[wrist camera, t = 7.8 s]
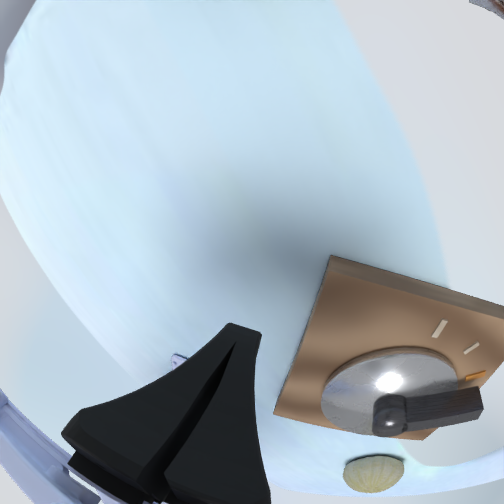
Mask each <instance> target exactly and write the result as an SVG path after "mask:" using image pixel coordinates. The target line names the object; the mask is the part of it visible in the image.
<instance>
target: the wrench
mask: <svg viewBox="0 0 504 504" xmlns="http://www.w3.org/2000/svg"><path fill="white" fill-rule="evenodd" d="M469 3H472V4H475V5H478V6H480V7H483V8H485V9H487V10H489V11H492V12H494V13H495V14H497V15H498V16H500V17H501V18H503V19H504V0H469Z"/></svg>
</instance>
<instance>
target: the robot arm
mask: <svg viewBox="0 0 504 504" xmlns="http://www.w3.org/2000/svg"><path fill="white" fill-rule="evenodd" d="M261 336H262V334H261V333H260V332H258V331H255V330H252V329H249V328H245V327H242V326H239V325H236V324H233V323H228V324H226V326H225V327H224V328H223V329H222V330H221V331H220V332H219V333H218V334H217V335H216V336H215V337H214V338H213V339H212V340H210V341H209V342H208V343H207V344H206V345H205V346H204V347H202V348H201V349H200V350H199V351H198V352H196V353H195V354H194V355H193V356H192V357H190V358H189V359H188V360H187V359H184V358H182V357H179V356H177V355H173V356H172V357H171V363H172V371H171V372H169V373H167V374H166V375H164V376H163V377H161V378H159V379H157V380H156V381H154V382H152V383H150V384H148V385H146V386H144V387H142V388H140V389H138V390H136V391H134V392H132V393H129V394H127V395H124V396H122V397H119V398H117V399H114V400H111V401H109V402H105V403H102V404H98V405H95V406H92V407H88V408H84V409H81V410H80V411H79V412H78V413H77V414H76V415H75V416H74V417H73V418H72V419H71V420H70V421H69V423H68V424H67V425H66V427H65V428H64V430H63V431H62V432H61V435H62V437H63V438H64V439H65V440H66V441H67V442H68V443H69V444H70V445H71V446H72V447H73V448H74V449H75V450H76V452H75V453H74V454H73V456H71V455H70V454H69V453H67V452H66V451H65V450H64V449H62V448H61V447H60V446H58V445H57V444H56V443H55V442H53V441H52V440H51V439H50V438H49V437H48V436H46V435H45V434H44V433H43V432H42V431H41V430H39V429H38V428H37V427H36V426H35V425H34V424H33V423H32V422H31V421H30V420H29V419H27V418H26V417H25V416H24V415H23V414H22V413H21V412H20V411H19V410H18V409H17V408H16V407H15V406H14V405H13V404H12V403H11V401H10V400H9V399H8V397H7V396H6V395H5V394H4V393H3V391H2V390H1V389H0V464H1V465H2V466H3V468H4V469H5V471H6V472H7V473H8V474H9V476H10V477H11V478H12V479H13V480H14V482H15V483H16V484H17V485H18V486H19V488H20V489H21V490H22V491H23V492H24V493H25V494H26V495H27V497H28V498H29V499H30V500H31V501H32V502H33V503H34V504H98V503H99V502H100V500H102V501H103V503H104V504H271V497H270V496H271V495H270V494H271V493H270V489H269V485H268V482H267V478H266V474H265V470H264V466H263V461H262V457H261V451H260V445H259V439H258V433H257V425H256V414H255V395H254V380H255V363H256V357H257V353H258V349H259V345H260V340H261ZM68 469H69V470H70V471H71V472H73V473H74V474H75V475H77V476H78V477H80V478H81V479H82V480H84V481H85V482H87V483H88V484H90V485H91V486H93V487H94V488H95V489H96V490H97V492H98V494H99V496H100V497H99V496H98V495H96V494H95V493H93V492H92V491H91V490H89V489H87V488H86V487H85V486H83V485H81V484H80V483H79V482H77V481H76V480H74V479H73V478H71V477H70V475H69V471H68Z"/></svg>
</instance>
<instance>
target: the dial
mask: <svg viewBox="0 0 504 504" xmlns="http://www.w3.org/2000/svg"><path fill="white" fill-rule="evenodd" d="M321 409H322V412H323V414H324V415H325V417H326V418H327V419H328V420H329V421H330V422H331V423H332V424H334V425H336V426H337V427H339V428H341V429H343V430H346V431H349V432H353V433H357V434H362V435H376V436H379V437H393V436H397V435H400V434H402V433H404V432H409V431H417V430H425V429H431V428H437V427H443V426H448V425H454V424H458V423H463V422H468V421H472V420H476V419H478V418H479V416H480V414H481V413H482V411H483V409H484V408H483V403H482V399H481V395H480V390H479V386H474V387H469V388H464V389H460V390H458V381H457V376H456V372H455V369H454V366H453V365H452V363H451V362H450V361H449V360H448V359H447V358H446V357H444V356H443V355H441V354H439V353H437V352H434V351H432V350H428V349H423V348H414V347H402V348H391V349H384V350H380V351H376V352H372V353H369V354H366V355H363V356H360V357H358V358H355V359H353V360H351V361H350V362H348V363H346V364H344V365H343V366H341V367H340V368H338V369H337V370H336V371H335V372H334V373H333V374H332V375H331V376H330V377H329V378H328V380H327V381H326V383H325V385H324V388H323V393H322V398H321Z"/></svg>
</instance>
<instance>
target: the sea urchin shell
mask: <svg viewBox="0 0 504 504" xmlns="http://www.w3.org/2000/svg"><path fill="white" fill-rule="evenodd" d="M403 472H404V465H403V463H402V462H401V461H399V460H397V459H395V458H391V457H388V456H386V457H385V456H373V457H366V458H362V459H358V460H355V461H352V462H350V463H349V464H348V465H346V466H345V468H344V473H343V478H344V480H345V482H346V484H347V485H348V486H349V487H351V488H352V489H353V490H355V491H358V492H365V493H377V492H381V491H384V490H386V489H388V488H390V487H392V486H393V485H394V484H396V483H397V482H398V481H399V480H400V478H401V477H402V476H403V474H404V473H403Z"/></svg>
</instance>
